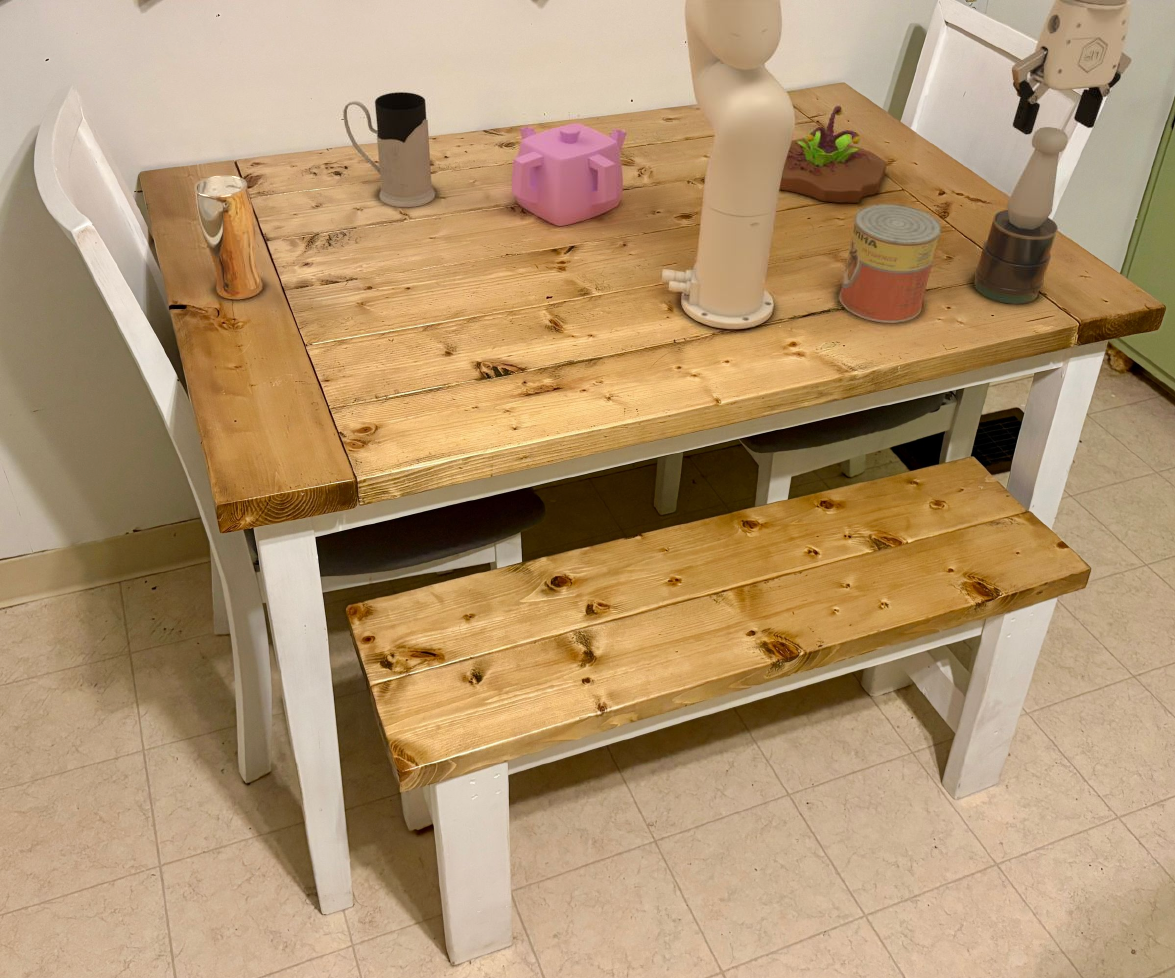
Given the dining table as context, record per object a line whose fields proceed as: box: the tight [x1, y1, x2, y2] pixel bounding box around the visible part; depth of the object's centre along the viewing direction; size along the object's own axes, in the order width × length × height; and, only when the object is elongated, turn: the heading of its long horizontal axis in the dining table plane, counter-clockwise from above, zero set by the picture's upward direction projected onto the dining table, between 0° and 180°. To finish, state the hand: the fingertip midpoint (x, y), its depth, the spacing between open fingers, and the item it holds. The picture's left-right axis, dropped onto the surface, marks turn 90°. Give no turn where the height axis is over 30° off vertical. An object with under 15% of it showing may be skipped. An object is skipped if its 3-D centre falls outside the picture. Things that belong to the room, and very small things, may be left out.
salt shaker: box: [1006, 126, 1069, 230], centre depth 150 cm, size 6×6×13 cm
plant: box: [779, 105, 887, 204], centre depth 185 cm, size 20×20×11 cm
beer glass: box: [193, 174, 264, 301], centre depth 149 cm, size 7×7×15 cm
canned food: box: [838, 203, 942, 324], centre depth 153 cm, size 11×11×12 cm
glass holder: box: [342, 91, 436, 208], centre depth 174 cm, size 9×14×15 cm, turn 71°
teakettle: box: [510, 122, 628, 227], centre depth 173 cm, size 17×17×12 cm
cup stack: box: [973, 209, 1058, 305], centre depth 158 cm, size 9×9×10 cm
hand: (1052, 127), depth 146 cm, fingers open, 9 cm apart
